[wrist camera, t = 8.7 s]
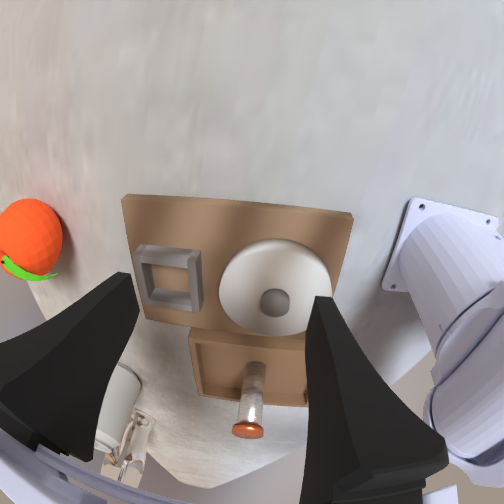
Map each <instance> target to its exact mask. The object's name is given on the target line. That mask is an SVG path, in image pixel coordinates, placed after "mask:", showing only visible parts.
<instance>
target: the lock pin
mask: <svg viewBox="0 0 504 504" xmlns="http://www.w3.org/2000/svg"><path fill="white" fill-rule="evenodd" d="M266 369H267V367H266V365H265V364H264V363H262V362H258V361H251V362H248V363H247V364H246V366H245V373H244V379H243V386H242V392H241V399H240V405H239V412H238V418H237V424H234V425H233V428H232V434H234V435H235V436H237V437H241V438H245V439H258V438H261V437H263V432H264V429H263V427H261V419H262V410H263V400H264V390H265V380H266Z"/></svg>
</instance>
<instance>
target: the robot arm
mask: <svg viewBox="0 0 504 504" xmlns="http://www.w3.org/2000/svg"><path fill="white" fill-rule="evenodd" d="M421 204H423V207H422V208H419V206H420V205H421ZM487 220H488V221H487ZM486 221H487V222H486ZM498 225H499V219H498V218H497V217H495V216H491V215H487V214H484V213H480V212H476V211H472V210H468V209H464V208H460V207H456V206H452V205H448V204H443V203H439V202H435V201H430V200H425V199H420V198H412V199H411V200H410V201H409V203H408V207H407V210H406V214H405V217H404V220H403V224H402V227H401V230H400V233H399V236H398V239H397V242H396V245H395V248H394V251H393V254H392V257H391V260H390V263H389V265H388V268H387V271H386V274H385V276H384V279H383V281H382V288H383V290H385V291H396V292H409V293H410V296H411V298H412V300H413V302H414V305H415V307H416V309H417V312H418V314H419V317H420V319H421V321H422V324H423V326H424V329H425V332H426V334H427V337H428V339H429V342H430V345H431V347H432V350H433V353H434V356H435V358H436V364H435V366H434V367H433V368H432V370H431V375H432V378H433V381H434V385H435V386H434V387H433V388H432V389H431V390H430V392H429V394H428V395H427V398H426V400H425V403H424V408H423V421H422V420H421V419H420V418H419V417H418V416H417V415H416V414H414V413H413V412H412V411H411V410H410V409H409V408H408V407H407V406H406V405H405V404H404V403H403V402H402V401H401V399H400V398H399V397H397V395H396V394H395V393H394V392H393V391H392V390H391V389H390V387H389V386H388V385H387V384H386V383H385V382H384V380H383V379H382V378H381V376H380V375H379V374H378V373H377V371H376V370H375V369H374V367H373V366H372V364H371V363H370V362H369V360H368V359H367V357H366V356H365V354H364V353H363V351H362V350H361V348H360V346H359V345H358V343H357V342H356V340H355V338H354V337H353V335H352V333H351V332H350V330H349V328H348V326H347V325H346V323H345V321H344V319H343V317H342V315H341V313H340V312H339V310H338V308H337V306H336V304H335V302H334V300H333V298H332V297H326V296H315V299H314V303H313V307H312V310H311V314H310V318H309V321H308V325H307V329H306V333H305V365H306V377H307V390H308V404H309V420H308V437H307V450H306V460H305V468H304V477H303V483H302V490H301V496H300V502H299V504H458V495H457V487H456V485H451V486H448V487H445V488H442V489H439V490H436V491H432V492H429V493H427V494H423V495H422V488H425V486H426V481H425V478H427V477H429V476H431V475H433V474H435V473H437V472H438V471H440V470H442V469H444V468H445V467H446V466H447V465H448V464H449V462H450V463H452V464H454V465H456V466H458V467H459V468H461V469H462V470H463V471H464V472H465V473H466V475H467V476H468V477H469V479H470V480H471V482H472V483H473V484H475V485H480V486H488V487H501V488H504V238H503V237H502V236H501V235H500V234H499V233H498V232H497V231H496V230H497V228H498ZM393 284H395V285H394V286H392V285H393ZM139 312H140V309H139V305H138V301H137V298H136V294H135V290H134V286H133V282H132V278H131V274H129V273H122V272H117V273H115V274H114V275H112V276H111V277H109V278H108V279H107V280H105V281H104V282H102V283H101V284H100V285H98V286H97V287H96V288H94V289H93V290H91V291H90V292H89V293H87V294H86V295H85V296H83V297H82V298H81V299H79V300H78V301H76V302H75V303H73V304H72V305H71V306H69V307H68V308H66V309H65V310H63V311H62V312H61V313H59V314H57V315H56V316H54V317H53V318H51V319H50V320H48V321H46V322H44V323H43V324H41V325H40V326H37V327H36V328H34V329H31V330H30V331H27V332H25V333H23V334H21V335H19V336H17V337H15V338H12V339H10V340H7V341H5V342H2V343H0V489H1V490H2V491H3V492H4V493H5V494H6V495H7V496H8V497H9V498H10V499H11V500H12V501H13V502H14V503H15V504H107V500H106V499H104V498H101V497H99V496H97V495H95V494H93V493H91V492H88V491H86V490H84V489H82V488H80V487H77V486H75V485H73V484H71V483H69V481H68V479H67V476H66V475H68V476H70V477H71V478H73V479H75V480H77V481H79V482H81V483H84V484H85V485H88V486H90V487H92V488H94V489H97V490H99V491H101V492H103V493H106V494H108V495H111V496H113V497H116V498H118V499H121V500H124V501H126V502H129V503H132V504H194V503H189V502H184V501H180V500H176V499H172V498H168V497H164V496H160V495H157V494H153V493H150V492H146V491H144V490H140V489H137V488H134V487H131V486H129V485H126V484H123V483H120V482H118V481H115V480H112V479H110V478H107V477H105V476H103V475H100V474H98V473H95V472H93V471H91V470H89V469H87V468H84V467H82V466H80V465H78V464H76V463H74V462H72V461H70V460H68V459H66V458H64V457H62V456H60V452H61V453H63V454H64V455H66V456H69V454H70V455H72V456H74V457H76V458H78V459H80V460H82V461H84V462H89V461H91V460H92V459H93V451H94V443H95V436H96V430H97V425H98V420H99V415H100V411H101V407H102V404H103V400H104V396H105V393H106V390H107V387H108V384H109V381H110V378H111V376H112V373H113V371H114V369H115V367H116V365H117V363H118V361H119V359H120V357H121V355H122V353H123V351H124V349H125V347H126V344H127V342H128V340H129V338H130V336H131V334H132V332H133V329H134V327H135V324H136V321H137V318H138V315H139ZM65 474H66V475H65Z"/></svg>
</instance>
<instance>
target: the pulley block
mask: <svg viewBox="0 0 504 504" xmlns="http://www.w3.org/2000/svg"><path fill="white" fill-rule="evenodd" d="M121 203H122V209H123V216H124V222H125V227H126V233H127V239H128V244H129V249H130V254H131V259H132V263H133V268H134V273H135V277H136V281H137V286H138V290H139V294H140V298H141V302H142V306H143V309H144V313H145V317H146V319H149V320H154V321H160V322H165V323H171V324H177V325H183V326H189V327H196V328H202V329H209V330H216V331H224V332H231V333H239V334H248V335H257V336H267V337H277V338H288V339H300V340H305V333H306V329H307V325H308V321H309V318H310V314H311V310H312V307H313V303H314V299H315V296H326V297H332V298H333V295H334V292H335V288H336V285H337V281H338V278H339V274H340V271H341V267H342V264H343V260H344V256H345V253H346V249H347V245H348V241H349V237H350V233H351V229H352V225H353V221H354V219H353V217H352V215H351V213H347V212H339V211H332V210H324V209H315V208H307V207H298V206H289V205H279V204H269V203H259V202H248V201H236V200H224V199H210V198H195V197H179V196H160V195H137V194H127V195H126V196H125V197H123V198H122V199H121Z"/></svg>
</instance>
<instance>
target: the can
mask: <svg viewBox="0 0 504 504" xmlns="http://www.w3.org/2000/svg"><path fill="white" fill-rule="evenodd" d="M140 388H141V385H140V382H139V381H138V379H137V376H136V375H135V373H134V372H133V371H132V370H131V369H129V368H128V367H127V366H125V365H123V364H121V363H120V362H118V363H117V365H116V367H115V369H114V371H113V373H112V376H111V378H110V381H109V384H108V387H107V390H106V393H105V396H104V400H103V404H102V407H101V411H100V415H99V420H98V425H97V430H96V436H95V443H94V448H96V449H98V450H101V451H103V452H107V453H111V452H112V448H114V447H117V446H119V445H120V443H121V440H122V437H123V434H124V431H125V429H126V426H127V423H128V420H129V418H130V415H131V412H132V409H133V407H134V404H135V401H136V399H137V396H138V393H139V391H140Z"/></svg>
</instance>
